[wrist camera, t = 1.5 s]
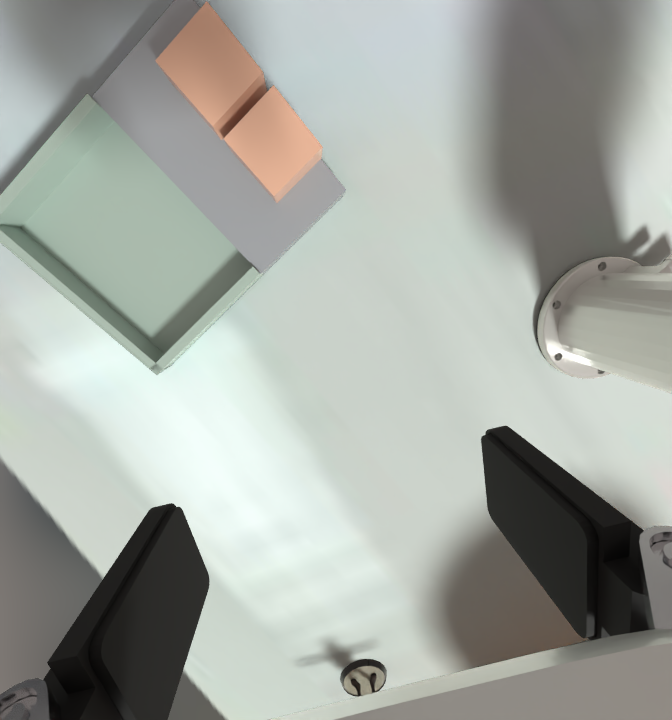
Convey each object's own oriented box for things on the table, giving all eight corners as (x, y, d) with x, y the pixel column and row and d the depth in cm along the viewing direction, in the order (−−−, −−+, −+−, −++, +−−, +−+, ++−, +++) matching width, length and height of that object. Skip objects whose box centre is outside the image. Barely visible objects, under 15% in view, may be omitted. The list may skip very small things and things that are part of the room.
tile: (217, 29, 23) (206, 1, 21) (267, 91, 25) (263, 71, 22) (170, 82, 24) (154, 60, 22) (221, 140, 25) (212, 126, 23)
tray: (111, 113, 26) (87, 93, 23) (264, 273, 30) (259, 273, 28) (11, 228, 28) (-24, 222, 25) (170, 365, 32) (156, 375, 29)
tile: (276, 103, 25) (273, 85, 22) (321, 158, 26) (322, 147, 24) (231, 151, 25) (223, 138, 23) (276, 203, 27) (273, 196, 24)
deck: (196, 15, 25) (184, -12, 23) (342, 196, 29) (345, 189, 27) (111, 113, 26) (91, 97, 24) (264, 273, 30) (260, 273, 28)
